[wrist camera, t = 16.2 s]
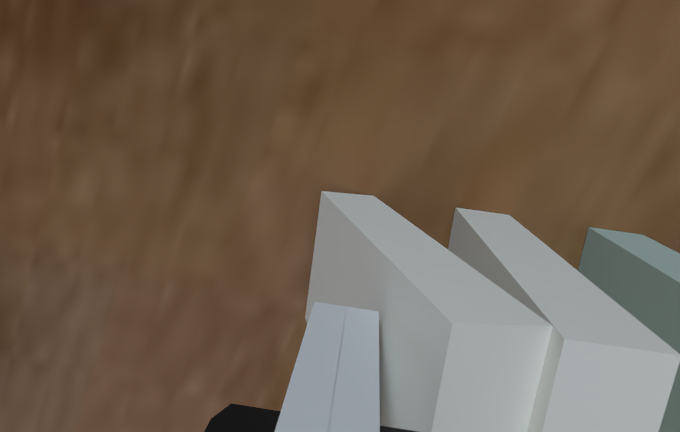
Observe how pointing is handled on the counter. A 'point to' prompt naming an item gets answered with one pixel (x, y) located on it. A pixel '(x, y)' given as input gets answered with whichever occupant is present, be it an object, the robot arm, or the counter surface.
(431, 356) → the ivory domino
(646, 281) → the sage domino
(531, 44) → the counter surface
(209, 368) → the counter surface
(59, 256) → the counter surface
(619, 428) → the ivory domino
